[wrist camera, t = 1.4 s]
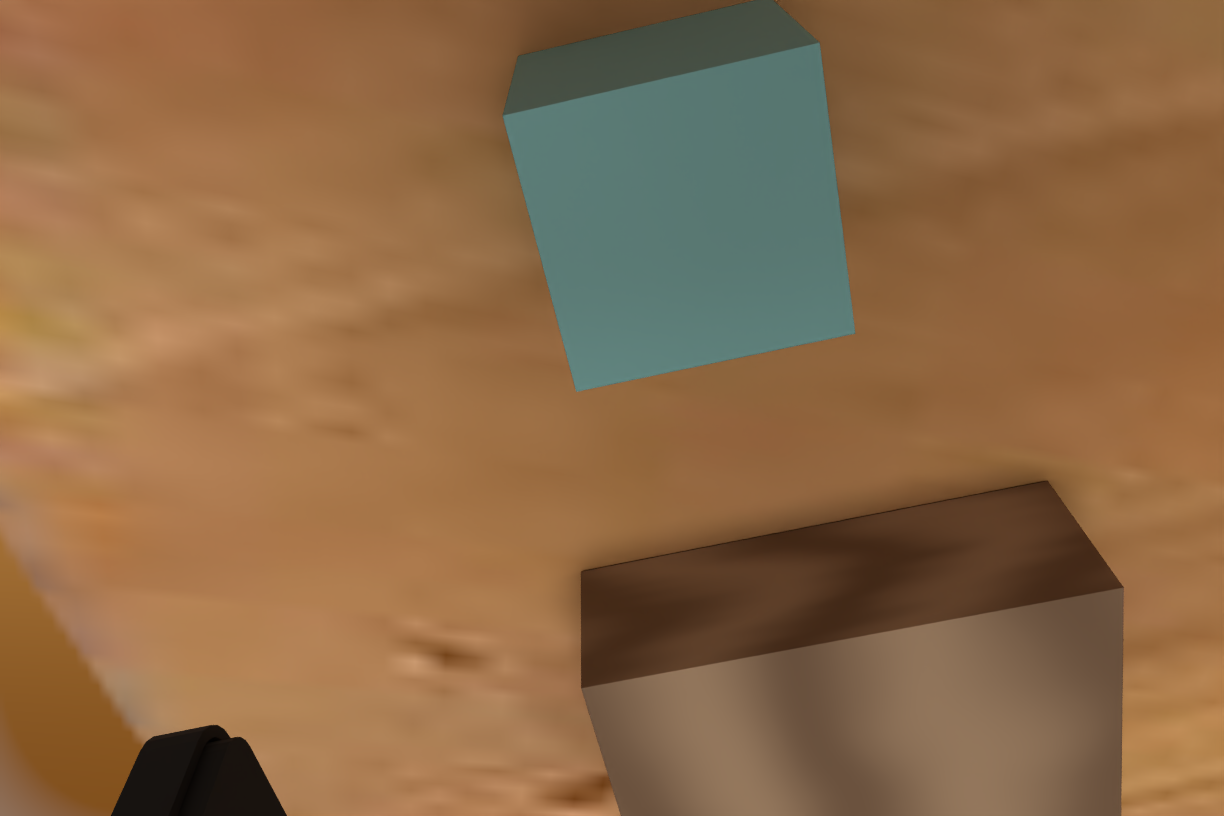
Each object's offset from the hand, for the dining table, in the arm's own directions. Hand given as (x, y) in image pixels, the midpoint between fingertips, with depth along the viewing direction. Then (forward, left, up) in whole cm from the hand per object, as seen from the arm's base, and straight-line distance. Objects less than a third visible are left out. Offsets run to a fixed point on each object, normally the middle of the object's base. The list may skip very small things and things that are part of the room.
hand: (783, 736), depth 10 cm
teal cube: (0, 0, -20) cm, 20 cm away
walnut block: (-2, +19, -19) cm, 27 cm away
